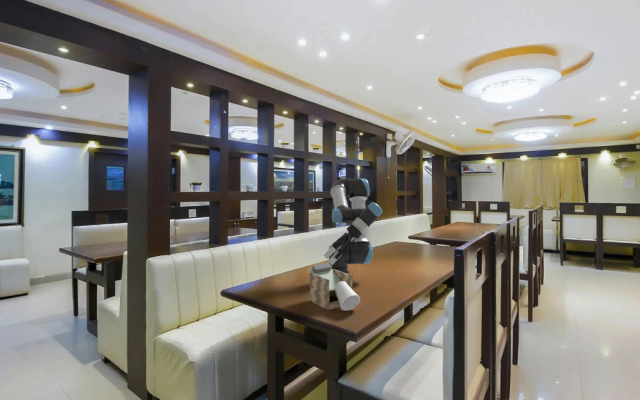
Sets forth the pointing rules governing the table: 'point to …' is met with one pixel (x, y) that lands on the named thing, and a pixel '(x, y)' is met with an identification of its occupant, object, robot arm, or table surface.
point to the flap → (326, 274)
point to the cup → (346, 296)
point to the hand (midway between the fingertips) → (327, 260)
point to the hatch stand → (326, 289)
